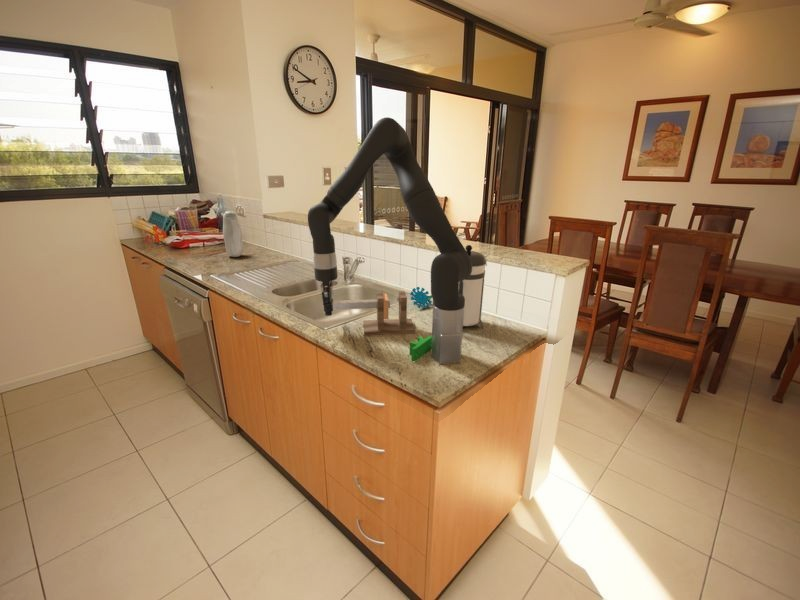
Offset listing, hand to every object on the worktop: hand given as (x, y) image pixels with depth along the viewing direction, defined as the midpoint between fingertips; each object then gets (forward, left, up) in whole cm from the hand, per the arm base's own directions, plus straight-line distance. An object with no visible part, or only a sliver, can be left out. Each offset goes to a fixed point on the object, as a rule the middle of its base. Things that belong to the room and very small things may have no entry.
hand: (329, 312), depth 131 cm
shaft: (0, -10, +1) cm, 10 cm away
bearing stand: (0, -21, -7) cm, 22 cm away
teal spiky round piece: (+22, -37, -7) cm, 43 cm away
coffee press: (+1, -48, -7) cm, 48 cm away
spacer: (0, -20, -2) cm, 20 cm away
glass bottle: (+116, +65, -7) cm, 133 cm away
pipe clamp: (-19, -29, -8) cm, 36 cm away
